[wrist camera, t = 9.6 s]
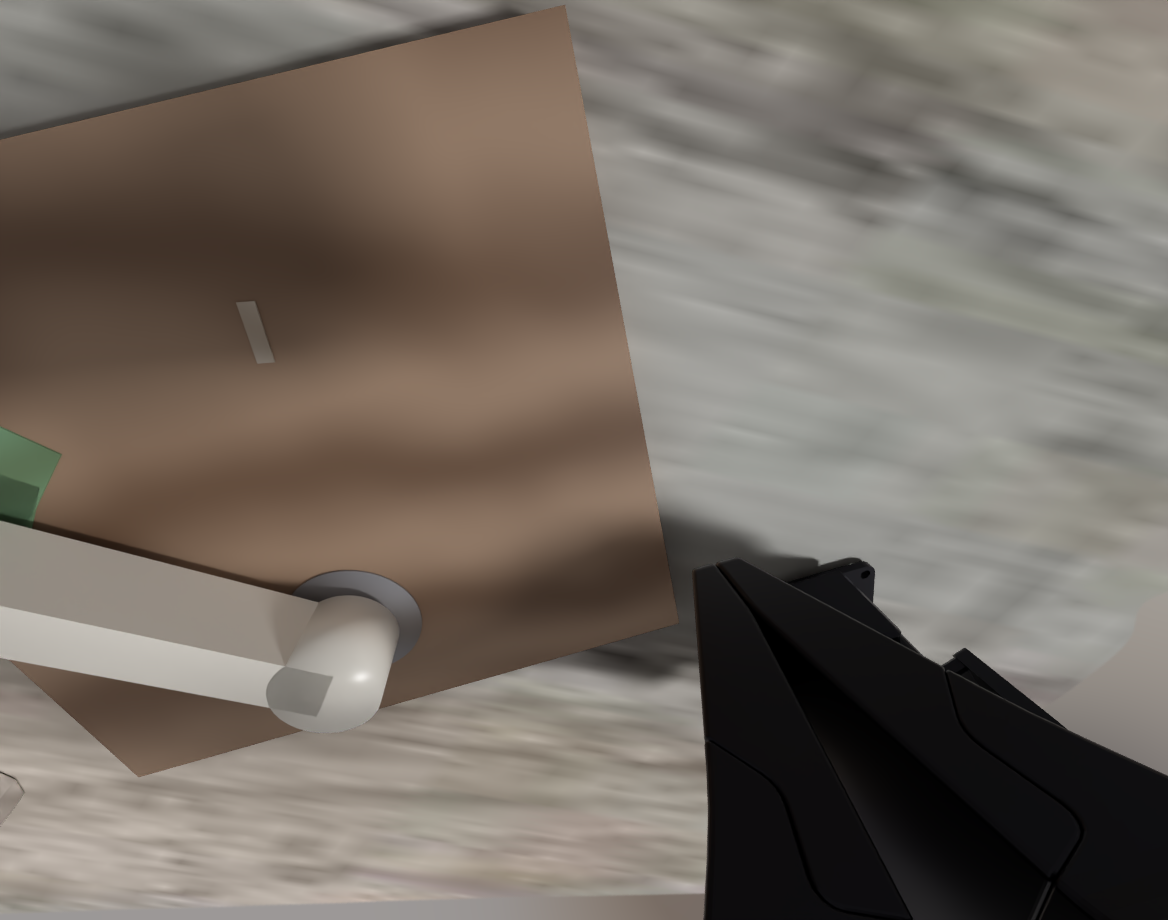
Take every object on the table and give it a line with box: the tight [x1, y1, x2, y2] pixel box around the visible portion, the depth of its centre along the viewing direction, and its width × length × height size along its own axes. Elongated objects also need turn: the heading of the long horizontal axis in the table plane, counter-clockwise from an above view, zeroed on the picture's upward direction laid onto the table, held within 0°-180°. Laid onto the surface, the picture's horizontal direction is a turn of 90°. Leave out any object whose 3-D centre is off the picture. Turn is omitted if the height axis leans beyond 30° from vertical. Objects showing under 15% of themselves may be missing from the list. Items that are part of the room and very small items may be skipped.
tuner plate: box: [0, 5, 679, 777], centre depth 17 cm, size 22×25×2 cm
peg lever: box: [0, 521, 399, 733], centre depth 15 cm, size 16×4×3 cm, turn 63°
